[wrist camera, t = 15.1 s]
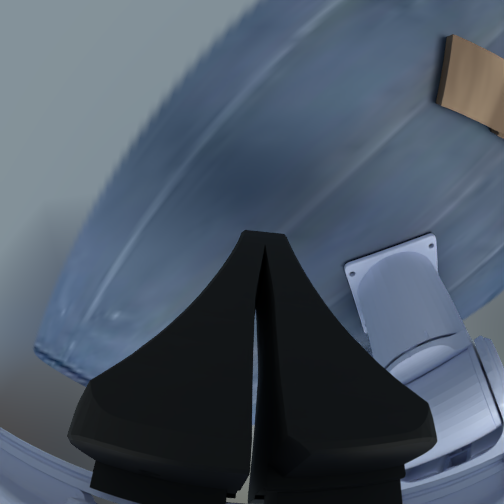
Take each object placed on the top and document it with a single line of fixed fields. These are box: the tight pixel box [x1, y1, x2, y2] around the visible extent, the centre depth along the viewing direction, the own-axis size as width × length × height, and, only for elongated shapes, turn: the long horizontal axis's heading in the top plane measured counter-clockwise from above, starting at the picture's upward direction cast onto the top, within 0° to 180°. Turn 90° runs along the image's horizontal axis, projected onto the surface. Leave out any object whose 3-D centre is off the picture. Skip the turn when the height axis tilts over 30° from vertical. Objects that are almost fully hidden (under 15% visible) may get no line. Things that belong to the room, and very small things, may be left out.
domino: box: [436, 34, 504, 135], centre depth 12 cm, size 2×5×8 cm
